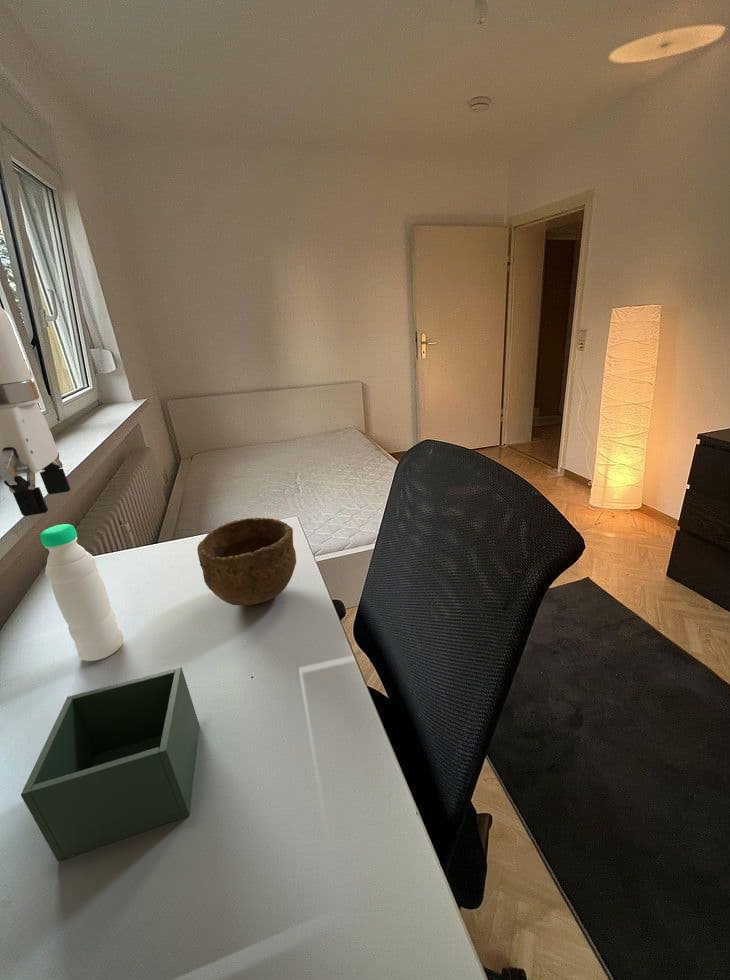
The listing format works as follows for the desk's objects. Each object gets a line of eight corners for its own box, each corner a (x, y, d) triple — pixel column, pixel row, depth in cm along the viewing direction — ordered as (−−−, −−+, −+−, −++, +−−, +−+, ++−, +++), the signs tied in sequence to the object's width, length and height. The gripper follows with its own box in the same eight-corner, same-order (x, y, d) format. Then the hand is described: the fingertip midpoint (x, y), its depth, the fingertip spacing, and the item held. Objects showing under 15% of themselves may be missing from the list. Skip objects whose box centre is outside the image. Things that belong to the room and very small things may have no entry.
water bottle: (86, 642, 84) (38, 524, 75) (128, 632, 86) (86, 516, 77) (75, 668, 78) (21, 542, 69) (120, 656, 80) (74, 532, 71)
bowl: (304, 612, 89) (293, 547, 83) (205, 633, 85) (186, 565, 79) (300, 566, 106) (291, 510, 100) (217, 581, 102) (203, 523, 96)
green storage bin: (57, 862, 49) (20, 795, 45) (94, 756, 61) (67, 696, 57) (189, 815, 53) (166, 750, 49) (199, 725, 65) (181, 666, 61)
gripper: (3, 391, 72) (42, 489, 78) (-62, 408, 56) (-7, 529, 63) (57, 386, 74) (91, 481, 80) (8, 401, 58) (55, 518, 65)
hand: (48, 502), depth 71 cm, fingers open, 9 cm apart
